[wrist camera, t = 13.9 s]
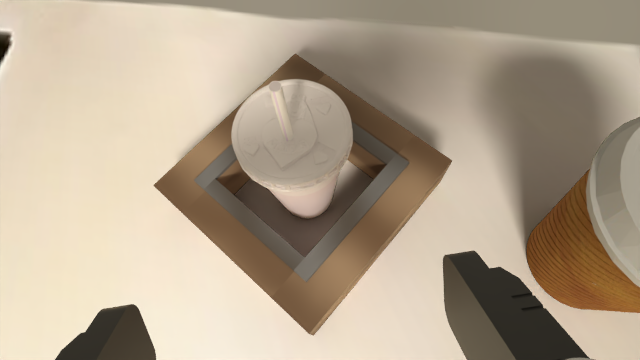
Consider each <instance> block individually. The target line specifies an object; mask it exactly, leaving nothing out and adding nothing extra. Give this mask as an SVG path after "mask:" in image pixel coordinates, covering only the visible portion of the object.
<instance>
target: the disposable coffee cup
mask: <svg viewBox="0 0 640 360" xmlns="http://www.w3.org/2000/svg"><path fill="white" fill-rule="evenodd" d="M527 260H528V265H529V267H530V270H531V272H532V274H533V276H534V278H535V280H536V281H537V283H538V284H539V285H540V286H541V287H542V288H543V289H544V290H545V292H547V293H548V294H549V295H550V296H552V297H553V298H554V299H556V300H557V301H559V302H561V303H563V304H565V305H568V306H570V307H574V308H578V309H591V310H606V311H620V312H635V313H640V117H638V118H636V119H634V120H631V121H629V122H627V123H624V124H623V125H622V126H620V127H619V128H618V129H616V130H615V131H614V132H613V133H611V134H610V135H609V136H608V137H607V138H606V139H605V140H604V141H603V143H602V145H601V146H600V148H599V150H598V151H597V153H596V155H595V156H594V158H593V160H592V164H591V168H590V169H589V170H588V171H587V172H586V173H585V175H584V176H582V178H581V179H580V180H579V181H578V182H577V183H576V184H575V185H574V187H572V188H571V190H570V191H569V192H568V193H567V194H566V195H565V196H564V197H563V198H562V199H561V201H559V202H558V204H557V205H556V206H555V207H554V208H553V209H552V210H551V211H550V212H549V213H548V215H547V216H546V217H545V218H544V219H543V220H542V221H541V222H540V223H539V224H538V225H537V226H536V227H535V228H534V230H533V231H532V233H531V235H530V236H529V239H528V243H527Z"/></svg>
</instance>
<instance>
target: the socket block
mask: <svg viewBox="0 0 640 360" xmlns="http://www.w3.org/2000/svg"><path fill="white" fill-rule="evenodd" d="M289 79H302V80H309V81H313V82H316V83H319V84H321V85H324V86H325V87H327V88H329V89H330V90H332V91H333V92H334V93H336V94H337V95H338V96H339V97H340V98H341V100H342V101H343V102H344V104H345V105H346V107H347V109H348V111H349V114H350V118H351V123H352V129H353V144H352V147H351V150H350V154H349V157H348V159H347V160H349V161H350V162H351V163H353V164H354V165H355V166H357V167H358V168H359V169H361V170H362V171H363V172H365V173H366V174H367V175H369V176H370V177H371V178H373V179H374V180H373V181H372V182H371V183H370V185H369V186H368V187H367V188H366V189H365V190H364V191H363V192H362V194H361V195H360V196H359V197H358V198H357V199H356V200H355V202H354V203H353V204H352V205H351V206H350V207H349V208H348V209H347V211H346V212H345V213H344V214H343V215H342V216H341V217H340V218H339V220H338V221H337V222H336V223H335V224H334V225H333V226H332V228H331V229H330V230H329V231H328V232H327V233H326V234H325V235H324V237H323V238H322V239H321V240H320V241H319V242H318V243H317V245H316V246H315V247H314V248H313V249H312V250H311V251H310V252H309V254H308V255H307V256H306V257H304V256H302V255H301V254H300V253H299V252H298V251H297V250H296V249H295V248H293V247H292V246H291V245H290V244H289V243H288V242H287V241H285V240H284V239H283V238H282V237H281V236H280V235H279V234H278V233H276V232H275V231H274V230H273V229H272V228H271V227H270V226H268V225H267V224H266V223H265V222H264V221H263V220H262V219H260V218H259V217H258V216H257V215H256V214H255V213H254V212H253V211H251V210H250V209H249V208H248V207H247V206H246V205H245V204H243V203H242V202H241V201H240V200H239V199H238V198H237V197H235V196H234V194H235V193H236V192H237V191H238V190H239V189H240V188H241V187H242V186H243V185H244V184H245V183H246V182H247V181H248V180H249V179H250V177H249V176H248V175H247V173H246V172H245V171H244V170H243V169H242V167H241V165H240V163H239V161H238V159H237V157H236V154H235V152H234V149H233V145H232V138H231V133H232V126H233V122H234V119H235V116H236V114H237V112H238V110H239V109H240V107H241V106H242V104H243V103H244V102H245V101H246V100H247V99H248V98H249V97H250V96H251V95H252V94H253V93H255V92H256V91H257V90H259V89H261V88H263V87H264V86H267V85H269V84H270V83H271V82H272V81H282V80H289ZM257 90H256V91H254V92H253V93H252V94H251V95H250V96H249V97H248V98H247V99H246V100H245V101H244V102H243V103H242V104H240V105H239V106H238V107H237V108H236V109H235V110H234V111H233V112H232V113H231V114H230V115H229V116H228V117H226V118H225V119H224V120H223V121H222V122H221V123H220V124H219V125H218V126H217V127H216V128H215V129H214V130H212V131H211V132H210V133H209V134H208V135H207V136H206V137H205V138H204V139H203V140H202V141H201V142H200V143H199V144H197V145H196V146H195V147H194V148H193V149H192V150H191V151H190V152H189V153H188V154H187V155H186V156H185V157H183V158H182V159H181V160H180V161H179V162H178V163H177V164H176V165H175V166H174V167H173V168H172V169H171V170H169V171H168V172H167V173H166V174H165V175H164V176H163V177H162V178H161V179H160V180H159V181H158V182H157V183H155V184H154V186H155V187H156V188H157V189H158V190H159V191H160V192H161V193H162V194H163V195H164V196H165V197H166V198H167V199H168V200H169V201H170V202H171V203H172V204H173V205H175V206H176V207H177V208H178V209H179V210H180V211H181V212H182V213H183V214H184V215H185V216H186V217H187V218H188V219H189V220H190V221H191V222H192V223H193V224H194V225H196V226H197V227H198V228H199V229H200V230H201V231H202V232H203V233H204V234H205V235H206V236H207V237H208V238H209V239H210V240H211V241H212V242H213V243H214V244H215V245H217V246H218V247H219V248H220V249H221V250H222V251H223V252H224V253H225V254H226V255H227V256H228V257H229V258H230V259H231V260H232V261H233V262H234V263H235V264H236V265H238V266H239V267H240V268H241V269H242V270H243V271H244V272H245V273H246V274H247V275H248V276H249V277H250V278H251V279H252V280H253V281H254V282H255V283H256V284H257V285H259V286H260V287H261V288H262V289H263V290H264V291H265V292H266V293H267V294H268V295H269V296H270V297H271V298H272V299H273V300H274V301H275V302H276V303H277V304H278V305H279V306H281V307H282V308H283V309H284V310H285V311H286V312H287V313H288V314H289V315H290V316H291V317H292V318H293V319H294V320H295V321H296V322H297V323H298V324H299V325H300V326H302V327H303V328H304V329H305V330H306V331H307V332H308V333H309V334H311V335H314V334H315V333H316V332H317V331H318V330H319V328H320V327H321V326H322V325H323V323H324V322H325V321H326V320H327V319H328V317H329V316H330V315H331V314H332V313H333V311H334V310H335V309H336V308H337V306H338V305H339V304H340V303H341V302H342V300H343V299H344V298H345V297H346V296H347V294H348V293H349V292H350V291H351V289H352V288H353V287H354V286H355V285H356V283H357V282H358V281H359V280H360V279H361V277H362V276H363V275H364V274H365V272H366V271H367V270H368V269H369V268H370V266H371V265H372V264H373V263H374V262H375V260H376V259H377V258H378V257H379V255H380V254H381V253H382V252H383V251H384V249H385V248H386V247H387V246H388V245H389V243H390V242H391V241H392V240H393V238H394V237H395V236H396V235H397V234H398V232H399V231H400V230H401V229H402V227H403V226H404V225H405V224H406V223H407V221H408V220H409V219H410V218H411V217H412V215H413V214H414V213H415V212H416V210H417V209H418V208H419V207H420V206H421V204H422V203H423V202H424V201H425V200H426V198H427V197H428V196H429V195H430V193H431V192H432V191H433V190H434V189H435V187H436V186H437V185H438V184H439V183H440V181H441V180H442V178H443V176H444V174H445V173H446V171H447V169H448V167H449V166H450V164H451V162H452V160H450V159H449V158H448V157H446V156H445V155H443V154H442V153H440V152H439V151H437V150H436V149H434V148H433V147H431V146H430V145H428V144H427V143H426V142H424V141H423V140H421V139H420V138H418V137H417V136H415V135H414V134H412V133H411V132H409V131H408V130H406V129H405V128H404V127H402V126H401V125H399V124H398V123H396V122H395V121H393V120H392V119H390V118H389V117H387V116H386V115H385V114H383V113H382V112H380V111H379V110H377V109H376V108H374V107H373V106H371V105H370V104H368V103H367V102H365V101H364V100H363V99H361V98H360V97H358V96H357V95H355V94H354V93H352V92H351V91H349V90H348V89H346V88H345V87H343V86H342V85H341V84H339V83H338V82H336V81H335V80H333V79H332V78H330V77H329V76H327V75H326V74H324V73H323V72H321V71H320V70H319V69H317V68H316V67H314V66H313V65H311V64H310V63H308V62H307V61H305V60H304V59H302V58H301V57H299V56H298V55H297V54H294V55H293V56H292V57H291V58H290V59H289V60H288V61H287V62H286V63H285V64H284V65H282V66H281V67H280V68H279V69H278V70H277V71H276V72H275V73H274V74H273V75H272V76H271V77H270V78H268V79H267V80H266V81H265V82H264V83H263V84H262V85H261V86H260V87H259V88H258V89H257Z"/></svg>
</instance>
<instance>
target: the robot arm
mask: <svg viewBox="0 0 640 360" xmlns="http://www.w3.org/2000/svg"><path fill="white" fill-rule="evenodd" d="M443 276H444V303H445V311H446V315H447V319H448V322H449V325H450V327H451V329H452V331H453V333H454V335H455V337H456V339H457V341H458V343H459V345H460V347H461V349H462V351H463V353H464V355H465V357H466V359H467V360H594V359H590V358H589V357H588V356H587V355H586V354H585V353H584V352H583V351H582V349H581V348H580V347H579V346H578V345H577V344H576V343H575V341H574V340H573V339H572V338H571V337H570V336H569V335H568V333H567V332H566V331H565V330H564V329H563V328H562V327H561V325H560V324H559V323H558V322H557V321H556V320H555V319H554V317H553V316H552V315H551V314H550V313H549V312H548V311H547V309H546V308H543V305H542V304H541V303H540V301H539V300H538V299H537V298H536V297H535V296H533V295H532V292H531V291H530V290H529V289H528V288H527V287H526V285H525V284H524V283H523V282H522V281H521V280H520V279H519V278H518V277H516V276H515V275H513V274H511V273H510V272H508V271H506V270H504V269H503V268H501V267H497V268H490V269H489V268H488V266H487V265H486V264H485V262H484V261H483V260H482V259H481V257H480V256H479V255H478V254H477V253H476V252H475V251H468V252H462V253H456V254H450V255H445V256H444V258H443ZM55 360H156V354H155V349H154V346H153V344H152V341H151V339H150V336H149V334H148V331H147V329H146V326H145V324H144V321H143V319H142V316H141V314H140V311H139V309H138V308H137V306H135V305H133V304H131V305H125V306H119V307H113V308H106V309H102V310H101V311H99V313H98V314H97V316H96V317H95V318H94V320H93V321H92V323H91V324H90V326H89V327H88V329H87V330H86V332H84V333H81V334H79V335H78V336H77V337H76V338H75V339H74V340H73V341H72V342H70V343H69V344H68V345H67V346H66V347H65V348H64V349H62V351H61V352H60V353H59V355H58V356H57V358H56V359H55Z"/></svg>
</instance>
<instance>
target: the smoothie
mask: <svg viewBox="0 0 640 360" xmlns="http://www.w3.org/2000/svg"><path fill="white" fill-rule="evenodd" d="M231 138H232V145H233V149H234V152H235V154H236V157H237V159H238V161H239V163H240V165H241V167H242V169H243V170H244V171H245V172H246V173H247V175H248V176H249V177H250V178H251V179H252V180H254V181H255V182H257V183H259V184H260V185H262V186H264V187H266V188H268V189H269V190H270V191H271V192H272V193H273V194H274V196H275V197H276V198H277V199H278V200H279V201H280V202H281V203H282V204H283V205H284V206H285V207H286V208H287V209H288V211H289V212H291V213H292V214H293V215H295V216H297V217H300V218H314V217H317V216H319V215H321V214H322V213H324V212H325V211H326V210H327V209H328V207H329V206H330V204H331V201H332V198H333V194H334V190H335V186H336V182H337V179H338V175H339V171H340V169H341V168H342V166H343V165H344V163H345V162H346V160H347V159H348V157H349V154H350V150H351V147H352V144H353V129H352V123H351V118H350V114H349V111H348V109H347V107H346V105H345V104H344V102H343V101H342V100H341V98H340V97H339V96H338V95H337V94H336V93H334V92H333V91H332V90H330V89H329V88H327V87H325V86H324V85H321V84H319V83H316V82H313V81H309V80H302V79H289V80H282V81H272V82H271V83H270V84H269V85H267V86H264V87H263V88H261V89H259V90H257V91H256V92H255V93H253V94H252V95H251V96H250V97H249V98H248V99H247V100H246V101H245V102H244V103H243V104H242V106H241V107H240V109H239V110H238V112H237V114H236V116H235V119H234V122H233V126H232V133H231Z"/></svg>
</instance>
